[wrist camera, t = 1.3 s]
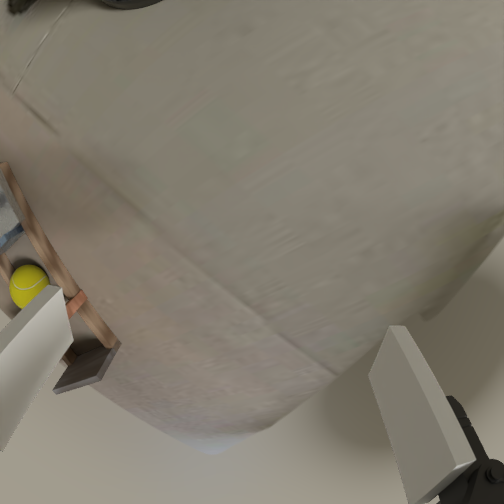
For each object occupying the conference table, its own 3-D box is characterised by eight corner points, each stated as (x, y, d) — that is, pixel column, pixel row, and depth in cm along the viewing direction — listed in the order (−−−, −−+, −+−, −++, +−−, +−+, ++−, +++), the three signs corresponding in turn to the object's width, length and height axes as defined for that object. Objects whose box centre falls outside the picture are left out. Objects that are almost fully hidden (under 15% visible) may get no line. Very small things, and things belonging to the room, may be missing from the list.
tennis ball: (26, 252, 41) (0, 270, 34) (58, 266, 42) (33, 287, 35) (26, 288, 43) (3, 308, 37) (57, 302, 44) (35, 325, 38)
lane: (-26, 204, 38) (-70, 224, 28) (7, 161, 35) (-43, 175, 25) (76, 362, 49) (50, 403, 38) (122, 343, 46) (96, 390, 36)
